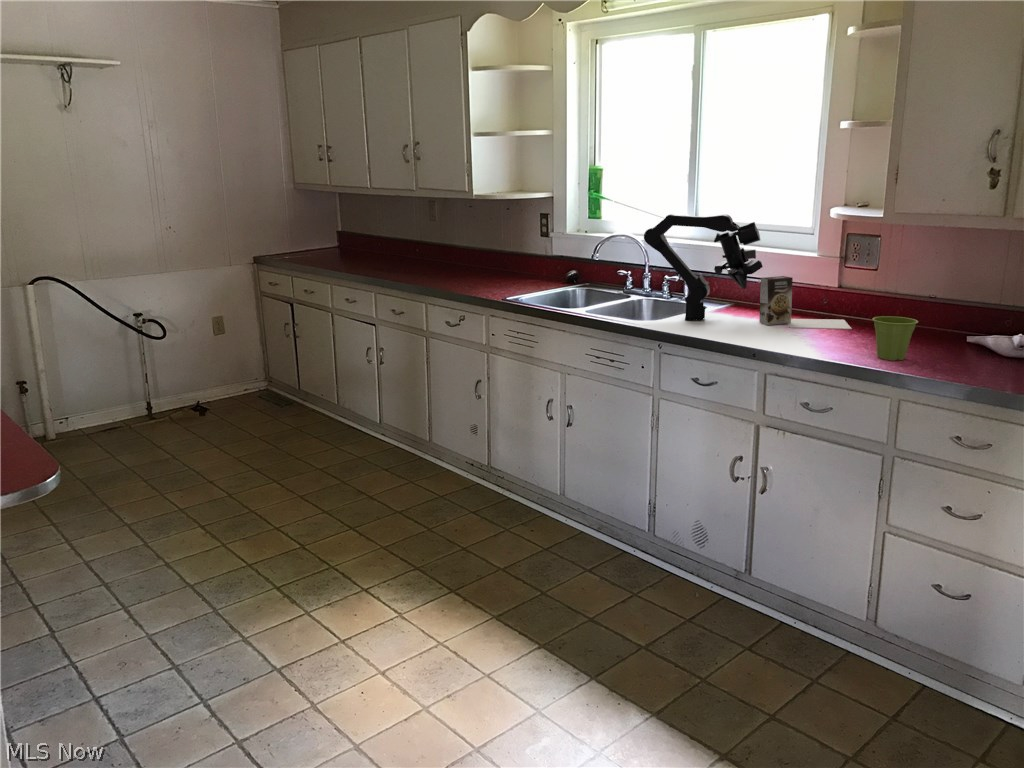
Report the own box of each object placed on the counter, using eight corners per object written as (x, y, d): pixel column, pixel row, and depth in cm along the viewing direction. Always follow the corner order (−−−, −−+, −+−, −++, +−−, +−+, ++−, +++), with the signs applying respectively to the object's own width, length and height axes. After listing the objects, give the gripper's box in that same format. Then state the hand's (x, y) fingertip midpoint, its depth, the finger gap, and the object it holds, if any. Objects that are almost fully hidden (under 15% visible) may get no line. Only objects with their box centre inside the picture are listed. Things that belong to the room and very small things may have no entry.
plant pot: (917, 363, 227) (922, 324, 224) (871, 362, 230) (875, 322, 227) (909, 354, 238) (914, 316, 235) (866, 352, 241) (869, 315, 238)
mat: (789, 328, 278) (789, 327, 278) (784, 319, 294) (785, 318, 293) (851, 329, 274) (851, 328, 274) (843, 320, 289) (843, 319, 289)
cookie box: (767, 325, 283) (769, 279, 279) (758, 322, 289) (759, 277, 285) (791, 323, 285) (793, 277, 281) (782, 320, 291) (783, 275, 287)
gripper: (766, 238, 282) (779, 278, 287) (729, 239, 298) (741, 277, 304) (744, 252, 278) (757, 293, 283) (707, 253, 294) (720, 291, 300)
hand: (744, 288), depth 293 cm, fingers closed
